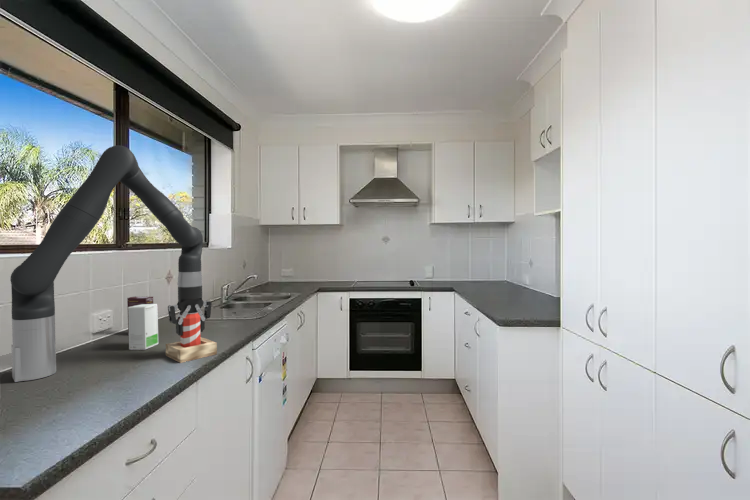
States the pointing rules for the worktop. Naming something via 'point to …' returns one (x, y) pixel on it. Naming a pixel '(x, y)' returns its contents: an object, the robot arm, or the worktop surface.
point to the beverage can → (191, 330)
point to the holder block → (191, 350)
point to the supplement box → (138, 302)
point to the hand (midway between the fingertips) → (190, 333)
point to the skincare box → (143, 326)
